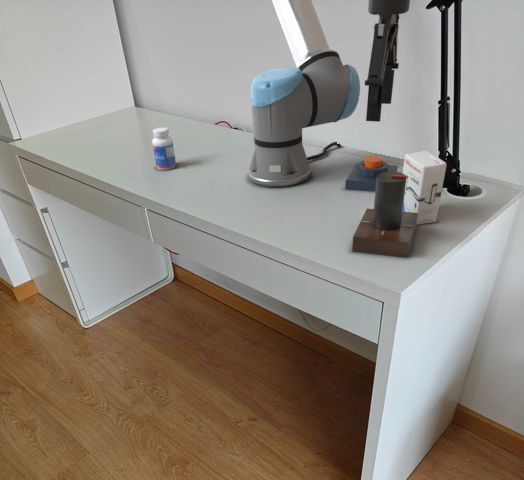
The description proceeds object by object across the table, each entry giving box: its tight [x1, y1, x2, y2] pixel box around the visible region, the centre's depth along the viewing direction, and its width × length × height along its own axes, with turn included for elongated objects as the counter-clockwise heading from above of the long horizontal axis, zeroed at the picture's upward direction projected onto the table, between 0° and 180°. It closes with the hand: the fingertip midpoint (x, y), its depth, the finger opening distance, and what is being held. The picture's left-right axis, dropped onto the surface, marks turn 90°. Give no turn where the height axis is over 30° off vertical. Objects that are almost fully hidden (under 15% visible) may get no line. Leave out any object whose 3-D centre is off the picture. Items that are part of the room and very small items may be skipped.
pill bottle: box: [151, 127, 177, 171], centre depth 133 cm, size 6×5×10 cm
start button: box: [364, 155, 383, 168], centre depth 116 cm, size 4×4×2 cm
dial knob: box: [373, 171, 407, 230], centre depth 91 cm, size 5×5×9 cm
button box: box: [345, 160, 399, 193], centre depth 118 cm, size 12×10×4 cm
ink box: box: [402, 150, 447, 226], centre depth 99 cm, size 9×5×12 cm, turn 13°
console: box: [351, 208, 418, 259], centre depth 95 cm, size 13×10×3 cm
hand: (379, 111), depth 105 cm, fingers open, 13 cm apart
